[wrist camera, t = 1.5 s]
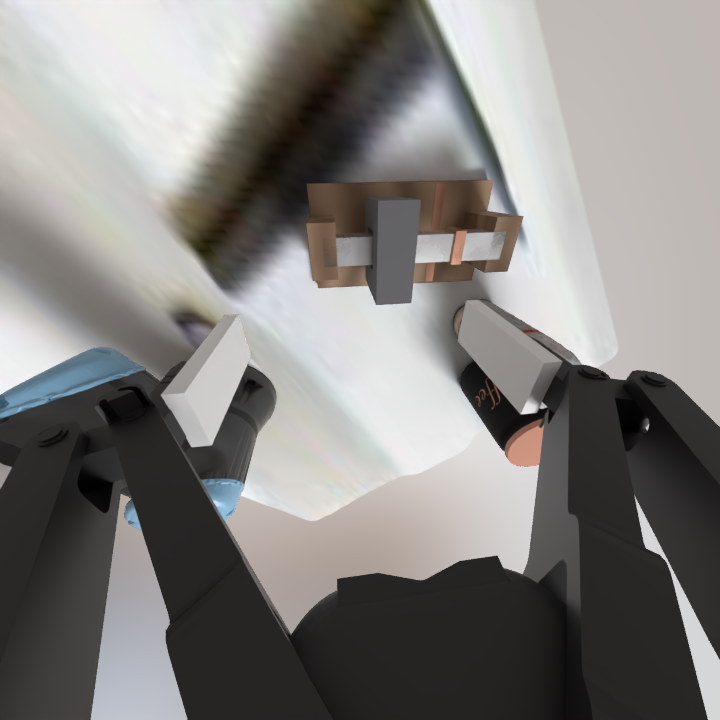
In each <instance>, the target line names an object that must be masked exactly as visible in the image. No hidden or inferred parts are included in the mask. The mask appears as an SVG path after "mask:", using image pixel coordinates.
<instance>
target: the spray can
mask: <svg viewBox="0 0 720 720" xmlns="http://www.w3.org/2000/svg"><path fill="white" fill-rule="evenodd" d="M480 301H481V302H482V303H484V304H485V305H486V306H488V307H489V308H490V309H492V310H493V311H495V312H496V313H497V314H499V315H500V316H501V317H503V318H504V319H505V320H507V321H508V322H510V323H511V324H512V325H514V326H515V327H516V328H518V329H519V330H520V331H522V332H523V333H525V334H526V335H528V336H530V337H532V338H535V339H537V340H539V341H540V342H542V343H543V344H544V345H546V347H549V348H550V349H551V350H552V351H554V352H556V353H557V354H558V355H560V356H561V357H563V358H564V359H565V360H567V361H568V362H570V363H571V364H572V365H582V364H581V363H580V361H579V360H578V359H577V357H576V356H575V355H574V354H573V353H572V352H571V351H569V350H567V349H566V348H564V347H563V346H562V345H561V344H559V343H557V342H556V341H555V340H553V339H552V338H550V337H548V336H546V335H545V334H543V333H541V332H540V331H538V330H536V329H535V328H533V327H531V326H530V325H528V324H526V323H525V322H523V321H522V320H519V319H518V318H516V317H515V316H514V315H511V314H509V313H508V312H506V311H504V310H503V309H501V308H499V307H498V306H496V305H494V304H492V303H491V302H490V301H488V300H480ZM464 308H465V305H464V306H463V307H462V308H460V309H459V310H458V311H457V313H456V315H455V317H454V322H453V326H454V331H455V334H456V335H457V337H458V336H459V331H460V327H461V322H462V317H463V313H464ZM543 408H547V406H546V405H545V404H544V403H543V402H542V404H541V406H540V409H543Z"/></svg>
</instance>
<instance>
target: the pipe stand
mask: <svg viewBox="0 0 720 720" xmlns="http://www.w3.org/2000/svg"><path fill="white" fill-rule="evenodd" d="M493 181H494V180H466V181H416V182H367V183H317V184H307V191H308V200H309V209H310V218H309V219H308V221H307V223H306V226H307V235H308V243H309V252H310V260H311V269H312V277H313V281H317V282H318V288H332V287H352V286H368V284H367V281H366V279H365V265H362V266H340V267H336V266H338V265H337V264H338V263H334V262H335V261H337V258H336V257H337V256H334V255H337V249H336V243H335V242H336V234H348V233H365V197H393V196H398V197H405V198H412V199H420V200H421V207H420V217H419V227H418V231H433V230H444V227H457V228H460V229H484V230H487V231H491V232H501V233H502V234H504V233H503V232H506V234H504V236H505V238H504V236H503V235H502V234H501V233H496V235H497V236H494V237H498V236H499V235H498V234H501V235H502V236H503V240H504V239H505V240H504V243H503V240H501V242H502V244H503V247H502V250H501V255H499V256H500V258H499V257H498V259H496V258H495V260H488V259H487V260H473V261H461V264H457V265H451V264H449V263H447V262H429V263H415V268H414V279H413V283H430V282H450V281H469V280H472V276H473V271H474V267H475V268H477V269H479V270H480V271H482V272H484V273H485V272H506V271H508V267H509V264H510V261H511V257H512V254H513V250H514V247H515V243H516V240H517V237H518V233H519V230H520V226H521V223H522V220H523V216H516V215H510V214H503V213H497V212H490V211H487V208H488V204H489V199H490V195H491V190H492V186H493ZM494 235H495V234H494ZM328 239H329V240H328ZM333 239H334V240H333ZM494 239H495V238H494ZM496 239H497V238H496ZM498 239H499V238H498ZM497 241H498V242H496V240H495V241H492V243H493V242H496V244H497V243H500V240H497ZM326 243H327V244H326ZM492 243H491V244H492ZM328 244H329V245H328ZM494 244H495V243H494ZM500 244H501V243H500ZM328 246H329V247H328ZM333 246H334V247H333ZM499 247H500V246H499ZM323 248H324V249H323ZM327 248H328V249H327ZM496 248H498V247H497V246H496ZM500 248H501V247H500ZM325 249H327V250H328V251H327V252H326V251H325ZM331 249H333V252H332V250H331ZM493 249H495V248H493ZM323 250H324V251H323ZM490 250H491V249H490ZM492 251H494V250H492ZM498 251H499V250H498ZM324 252H325V253H324ZM327 253H329V254H327ZM326 254H327V255H328V256H330V257H331V258H328V256H327V255H326ZM325 255H326V256H327V257H326V256H325ZM333 256H334V258H333V259H332V257H333ZM488 257H489V256H488ZM496 257H497V256H496ZM325 258H326V259H327V258H328V259H327V260H326V259H325ZM493 258H494V256H493ZM331 259H332V260H333V261H334V262H333V261H332V260H331ZM334 259H335V260H334ZM328 260H330V261H328ZM325 261H326V262H325ZM327 261H328V262H329V263H330V262H331V263H330V264H331V265H327V266H326V265H325V264H326V263H327ZM324 262H325V263H324ZM332 262H333V263H332ZM324 265H325V266H326V267H325V266H324ZM334 265H335V267H334ZM328 266H330V267H328Z"/></svg>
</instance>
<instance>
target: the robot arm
mask: <svg viewBox="0 0 720 720" xmlns="http://www.w3.org/2000/svg"><path fill="white" fill-rule="evenodd" d="M457 341H458V342H459V343H460V345H461V346H462V347H463V348H464V349H465V350H466V352H467V353H468V354H469V355H470V356H471V357H472V358H473V360H474V361H475V362H476V363H477V364H478V365H479V367H480V368H481V369H482V370H483V371H484V372H485V374H486V375H487V376H488V377H489V378H490V379H491V381H492V382H493V383H494V384H495V385H496V386H497V388H498V389H499V390H500V391H501V392H502V393H503V394H504V396H505V397H506V398H507V399H508V400H509V401H510V403H511V404H512V405H513V406H514V407H515V408H516V410H517V411H518V412H519V413H520V414H530V413H537V412H538V410H539V408H540V406H541V404H542V402H543V403H544V404H545V405H546V406H547V407H548V410H547V412H546V414H545V416H544V418H543V420H542V422H541V423H540V425H539V427H540V428H542V427H543V425H544V428H543V437H542V446H541V455H540V463H539V472H538V481H537V491H536V499H535V507H534V516H533V525H532V534H531V542H530V551H529V558H528V562H527V565H526V568H525V570H524V573H523V575H522V574H520V573H517V572H515V571H512V570H509V569H504V568H503V567H502V565H501V562H500V560H499V558H498V556H492V557H485V558H478V559H471V560H465V561H459V562H457V563H455V564H453V565H452V566H450V567H448V568H446V569H444V570H442V571H441V572H439V573H437V574H435V575H433V576H431V577H429V578H428V579H426V580H421V581H420V580H414V579H408V578H403V577H397V576H392V575H386V574H381V573H375V574H368V575H361V576H354V577H347V578H340V579H337V591H335V592H333V593H331V594H329V595H328V596H327V597H325V598H324V599H322V600H321V601H319V602H318V603H317V604H316V605H315V606H314V607H313V608H312V609H311V610H310V611H309V612H308V613H307V614H306V615H305V616H304V618H303V619H302V620H301V621H300V623H299V624H298V626H297V627H296V629H295V630H294V631H293V633H292V635H291V633H290V632H289V630H288V628H287V627H286V625H285V623H284V621H283V620H282V618H281V616H280V615H279V613H278V611H277V610H276V608H275V607H274V605H273V603H272V602H271V600H270V598H269V597H268V595H267V593H266V591H265V590H264V588H263V586H262V585H261V583H260V581H259V579H258V578H257V576H256V574H255V572H254V571H253V569H252V567H251V566H250V564H249V562H248V560H247V559H246V557H245V555H244V554H243V552H242V550H241V548H240V547H239V545H238V543H237V541H236V540H235V538H234V536H233V535H232V533H231V531H230V529H229V528H228V526H227V524H226V523H225V521H226V520H227V519H228V518H229V517H230V516H231V515H232V514H233V512H234V511H235V509H236V506H237V503H238V500H239V497H240V495H241V492H242V491H243V489H244V484H245V480H246V476H247V472H248V468H249V464H250V461H251V457H252V453H253V449H254V445H255V442H256V438H257V434H258V433H259V431H260V430H261V429H262V428H263V426H264V425H265V423H266V422H267V421H268V420H269V418H270V417H271V416H272V414H273V411H274V408H275V404H276V399H277V397H276V391H275V388H274V386H273V385H272V383H271V382H270V380H269V379H268V378H267V377H266V376H264V375H263V374H262V373H260V372H259V371H257V370H255V369H253V368H251V367H248V366H247V364H248V362H249V360H250V358H251V354H250V351H249V348H248V344H247V341H246V338H245V334H244V331H243V328H242V324H241V321H240V318H239V314H238V315H224V316H223V317H222V319H221V320H220V321H219V323H218V324H217V325H216V326H215V328H214V329H213V330H212V331H211V333H210V334H209V335H208V336H207V338H206V339H205V340H204V341H203V343H202V344H201V345H200V346H199V348H198V349H197V350H196V351H195V353H194V354H193V355H192V356H191V358H190V359H189V360H188V361H185V362H181V363H179V364H178V365H176V366H175V367H173V368H172V369H171V370H170V371H169V372H168V373H167V375H166V376H165V378H163V379H162V380H161V382H160V381H159V380H158V379H156V378H155V377H154V376H152V375H151V374H150V373H149V372H147V371H146V370H145V369H146V368H145V367H143V366H139V365H138V364H136V363H135V362H133V361H131V360H130V359H128V358H127V357H125V356H124V355H122V354H121V353H120V352H118V351H116V350H114V349H111V348H104V347H99V348H93V349H90V350H88V351H85V352H83V353H81V354H79V355H77V356H74V357H72V358H70V359H68V360H66V361H64V362H62V363H60V364H58V365H56V366H54V367H52V368H50V369H48V370H46V371H44V372H42V373H40V374H38V375H36V376H34V377H32V378H31V379H29V380H27V381H25V382H23V383H21V384H19V385H17V386H15V387H13V388H11V389H10V390H8V391H6V392H4V393H3V394H1V395H0V720H91V719H90V718H91V711H92V704H93V697H94V689H95V681H96V674H97V667H98V659H99V652H100V644H101V637H102V629H103V621H104V614H105V606H106V599H107V591H108V584H109V577H110V568H111V562H112V554H113V546H114V539H115V531H116V524H117V516H118V508H119V501H120V494H123V495H125V496H128V497H129V498H131V500H130V501H129V502H128V503H127V505H126V510H125V513H124V517H125V519H126V520H127V521H128V523H129V524H130V525H131V526H133V527H135V528H137V529H140V530H142V532H143V536H144V539H145V542H146V545H147V548H148V551H149V554H150V557H151V560H152V564H153V567H154V570H155V573H156V577H157V580H158V583H159V586H160V589H161V592H162V595H163V599H164V602H165V605H166V608H167V611H168V614H169V619H170V625H169V626H168V628H167V630H166V644H167V649H168V653H169V656H170V660H171V664H172V667H173V670H174V674H175V677H176V681H177V684H178V687H179V691H180V695H181V698H182V701H183V705H184V708H185V712H186V715H187V718H188V720H708V719H707V715H706V711H705V707H704V703H703V699H702V695H701V691H700V687H699V683H698V679H697V675H696V671H695V667H694V663H693V660H692V656H691V651H690V648H689V644H688V640H687V636H686V632H685V628H684V624H683V620H682V616H681V612H680V608H679V605H678V600H677V596H676V592H675V588H674V584H673V580H672V577H671V573H670V570H669V568H668V565H667V563H666V562H665V560H664V559H663V558H662V557H661V556H660V555H658V554H656V553H654V552H652V551H650V550H648V549H646V548H645V545H644V542H643V537H642V532H641V527H640V523H639V517H638V512H637V508H636V502H635V497H636V499H637V501H638V503H639V505H640V507H641V509H642V511H643V512H644V514H645V516H646V518H647V520H648V522H649V524H650V526H651V528H652V530H653V532H654V534H655V536H656V538H657V540H658V542H659V544H660V546H661V547H662V550H663V552H664V553H665V555H666V557H667V559H668V561H669V563H670V565H671V567H672V569H673V571H674V573H675V575H676V577H677V579H678V581H679V583H680V585H681V587H682V588H683V590H684V593H685V594H686V596H687V598H688V600H689V602H690V604H691V606H692V608H693V610H694V612H695V614H696V616H697V618H698V620H699V622H700V624H701V626H702V627H703V630H704V632H705V633H706V635H707V637H708V639H709V641H710V643H711V645H712V647H713V648H714V650H715V652H716V654H717V655H718V657H719V659H720V427H719V426H718V425H717V424H716V423H715V422H714V421H713V420H712V419H711V418H710V417H709V416H708V415H707V414H706V413H705V412H704V411H703V410H702V409H701V408H700V407H699V406H698V405H697V404H696V403H695V402H694V401H693V400H692V399H691V398H690V397H689V396H688V395H687V394H686V393H685V392H684V391H683V390H682V389H681V388H680V387H679V386H678V385H677V384H675V383H674V382H673V381H671V380H670V379H668V378H666V377H664V376H663V375H661V374H657V373H654V372H648V371H640V370H637V371H632V373H631V374H630V375H629V377H628V378H627V380H617V379H610V377H609V376H608V375H607V374H606V373H605V372H603V371H601V370H599V369H597V368H594V367H591V366H587V365H572V364H571V363H570V362H568V361H567V360H565V359H564V358H563V357H561V356H560V355H558V354H557V353H556V352H554V351H552V350H551V349H550V348H549V347H546V345H544V344H543V343H542V342H540V341H539V340H537V339H535V338H532V337H530V336H528V335H526V334H525V333H523V332H522V331H520V330H519V329H518V328H516V327H515V326H514V325H512V324H511V323H510V322H508V321H507V320H505V319H504V318H503V317H501V316H500V315H499V314H497V313H496V312H495V311H493V310H492V309H490V308H489V307H488V306H486V305H485V304H484V303H482V302H481V301H480V300H466V304H465V308H464V313H463V317H462V322H461V327H460V331H459V336H458V340H457ZM648 424H649V429H648V431H647V430H646V428H645V427H646V426H647V425H648ZM634 495H635V497H634Z"/></svg>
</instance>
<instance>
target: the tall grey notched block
mask: <svg viewBox="0 0 720 720" xmlns="http://www.w3.org/2000/svg"><path fill="white" fill-rule="evenodd" d="M420 207H421V200H420V199H412V198H405V197H398V196H393V197H365V233H373V265H365V279H366V281H367V284H368V286H369V288H370V291H371V293H372V296H373V298H374V301H375V303H376V305H384V304H402V303H411V299H412V289H413V279H414V268H415V258H416V248H417V237H418V227H419V217H420Z"/></svg>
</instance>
